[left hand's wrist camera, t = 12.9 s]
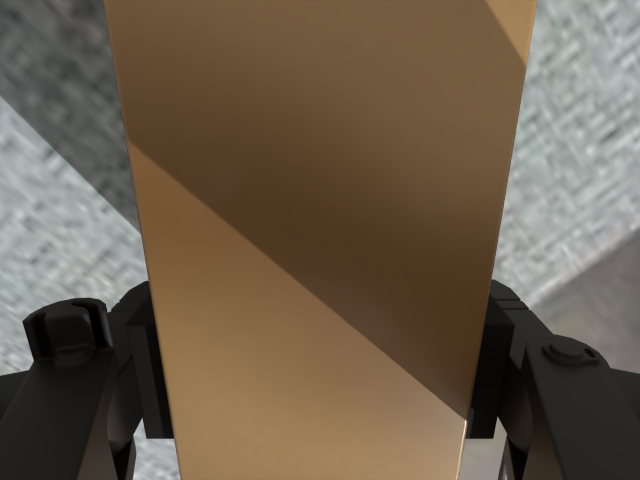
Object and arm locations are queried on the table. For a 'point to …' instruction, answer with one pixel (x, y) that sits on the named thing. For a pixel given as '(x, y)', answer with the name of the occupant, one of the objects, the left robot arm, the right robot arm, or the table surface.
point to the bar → (320, 222)
